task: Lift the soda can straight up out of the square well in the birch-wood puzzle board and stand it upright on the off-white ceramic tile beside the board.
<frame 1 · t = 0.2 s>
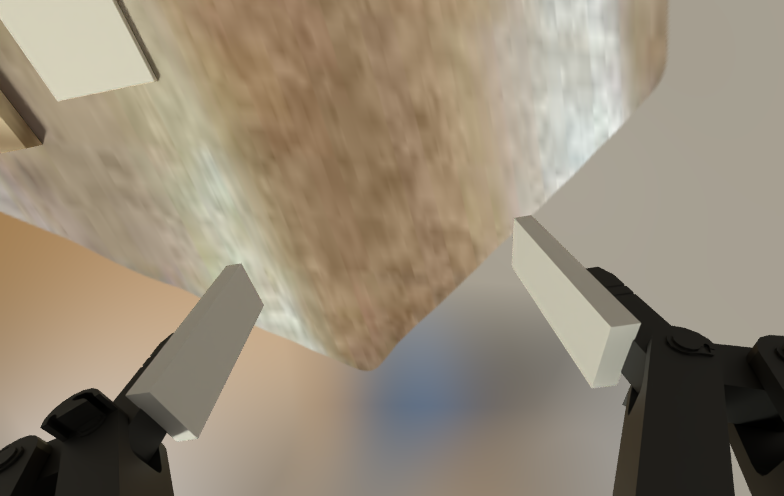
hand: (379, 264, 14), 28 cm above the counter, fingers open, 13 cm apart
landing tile: (71, 27, 31), on the counter
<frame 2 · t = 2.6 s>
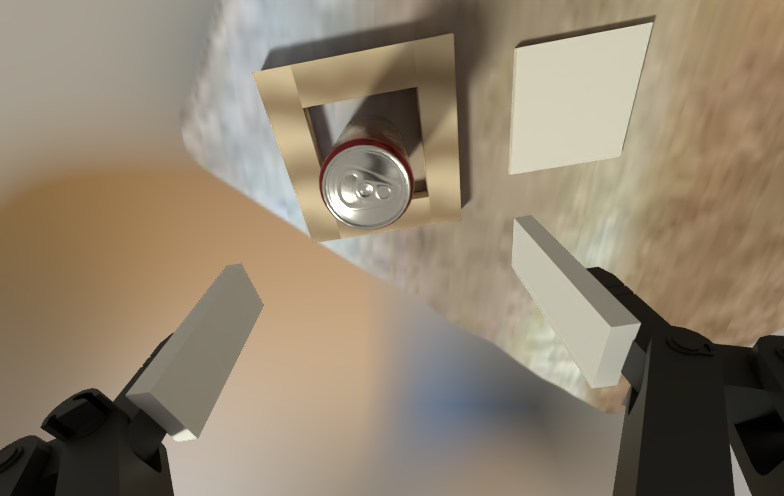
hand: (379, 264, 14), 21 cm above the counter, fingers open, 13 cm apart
well board: (371, 151, 32), on the counter
soda can: (371, 150, 32), resting in well board
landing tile: (570, 106, 30), on the counter
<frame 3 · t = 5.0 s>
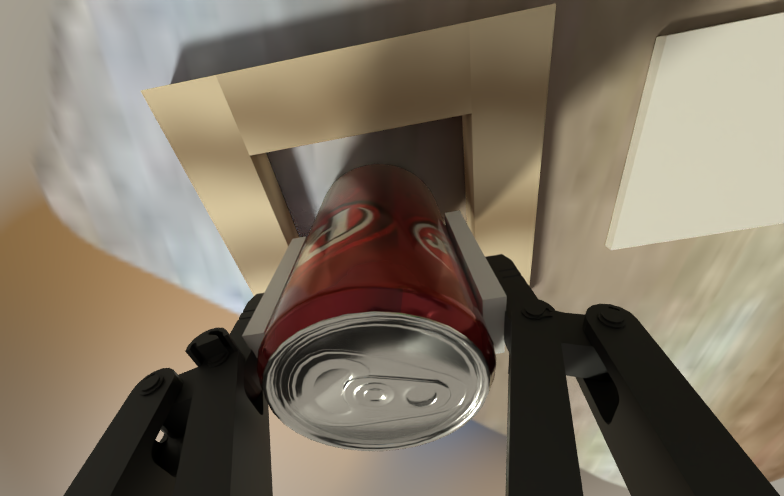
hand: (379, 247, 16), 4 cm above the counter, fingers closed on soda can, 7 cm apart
well board: (379, 218, 19), on the counter
soda can: (379, 216, 19), resting in well board, touching gripper
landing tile: (733, 141, 17), on the counter
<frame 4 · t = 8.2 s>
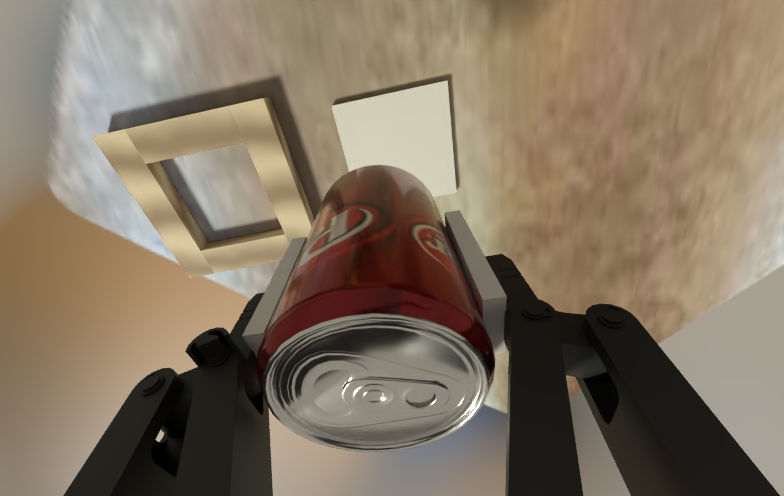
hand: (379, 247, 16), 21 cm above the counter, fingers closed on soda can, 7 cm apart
well board: (228, 195, 35), on the counter
soda can: (379, 217, 19), point 17 cm above the counter, touching gripper
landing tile: (398, 151, 33), on the counter
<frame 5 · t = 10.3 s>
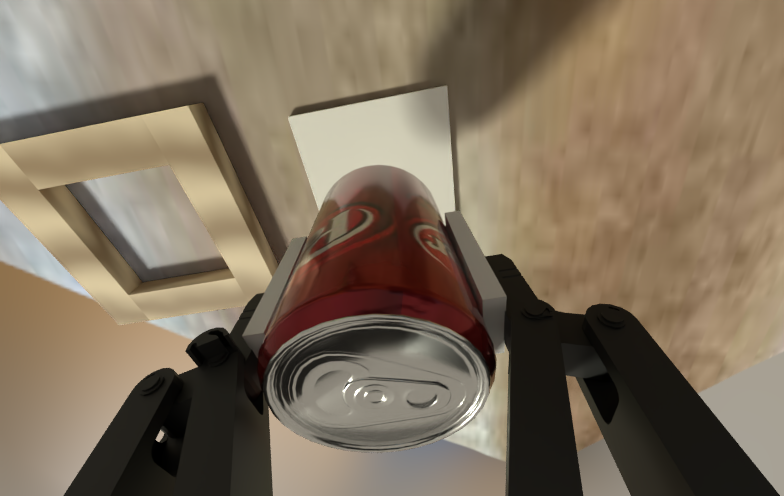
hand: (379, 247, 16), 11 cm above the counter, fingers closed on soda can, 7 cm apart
well board: (160, 227, 27), on the counter
soda can: (379, 217, 19), point 8 cm above the counter, touching gripper
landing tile: (381, 177, 25), on the counter
when the fingers open (6 cm above the counter, at t = 11.8 s): soda can drops 1 cm, resting on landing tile.
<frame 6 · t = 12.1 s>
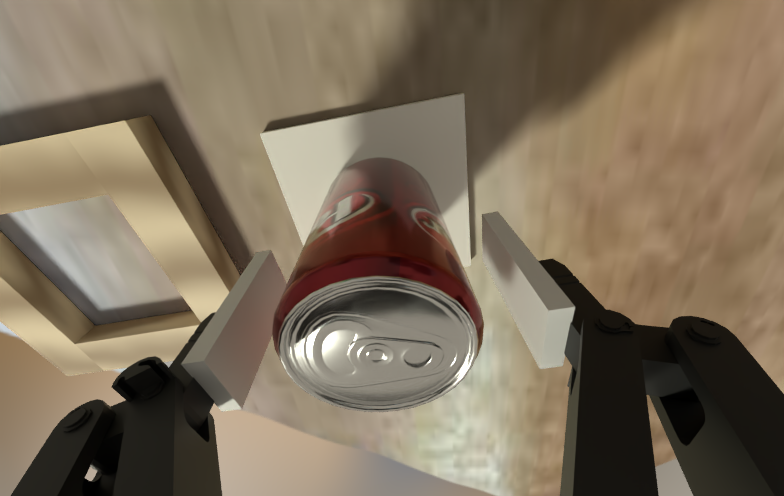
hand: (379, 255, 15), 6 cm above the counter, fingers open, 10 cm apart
well board: (111, 264, 22), on the counter
soda can: (380, 207, 20), resting on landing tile
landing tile: (379, 205, 20), on the counter
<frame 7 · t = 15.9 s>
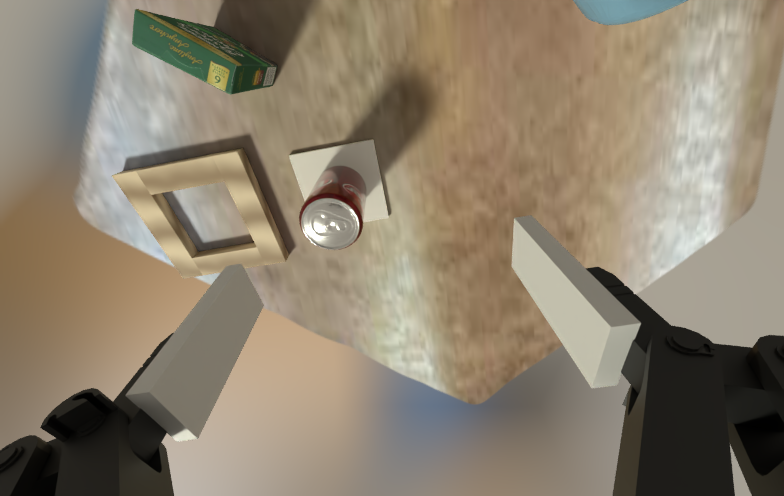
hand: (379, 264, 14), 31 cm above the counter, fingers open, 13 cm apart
coffee box: (246, 58, 35), on the counter
well board: (213, 216, 46), on the counter
soda can: (342, 188, 44), resting on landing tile
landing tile: (342, 187, 44), on the counter
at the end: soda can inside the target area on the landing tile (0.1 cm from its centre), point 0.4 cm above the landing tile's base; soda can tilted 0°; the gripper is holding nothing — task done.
